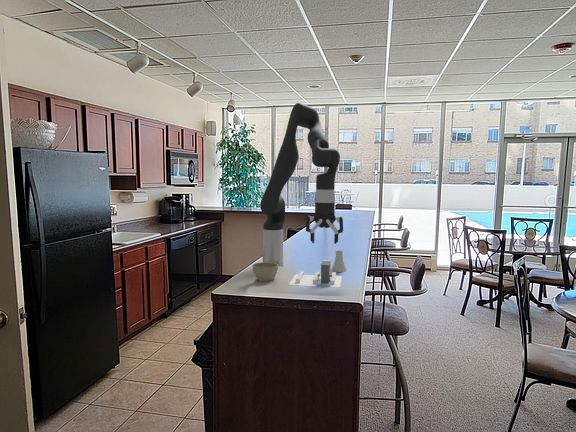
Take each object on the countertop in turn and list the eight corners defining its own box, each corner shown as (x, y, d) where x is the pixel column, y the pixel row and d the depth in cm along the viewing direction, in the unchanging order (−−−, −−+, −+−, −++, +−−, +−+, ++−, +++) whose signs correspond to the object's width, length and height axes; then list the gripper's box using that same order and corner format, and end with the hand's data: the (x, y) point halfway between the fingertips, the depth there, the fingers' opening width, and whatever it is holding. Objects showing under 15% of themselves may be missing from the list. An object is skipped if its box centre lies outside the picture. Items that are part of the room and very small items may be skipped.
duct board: (288, 288, 147) (288, 279, 146) (295, 277, 163) (295, 269, 162) (340, 291, 144) (340, 281, 143) (341, 279, 159) (341, 271, 159)
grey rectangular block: (320, 283, 149) (321, 264, 148) (322, 277, 158) (323, 259, 157) (328, 283, 148) (329, 265, 148) (330, 277, 157) (330, 260, 157)
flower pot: (268, 287, 149) (268, 268, 148) (247, 283, 154) (247, 265, 153) (282, 281, 157) (282, 263, 156) (262, 278, 162) (262, 261, 162)
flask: (336, 276, 165) (337, 253, 164) (327, 272, 171) (327, 250, 170) (350, 274, 168) (351, 251, 167) (340, 271, 174) (341, 248, 173)
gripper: (344, 201, 153) (343, 242, 155) (307, 200, 155) (307, 240, 157) (343, 202, 146) (342, 245, 147) (305, 201, 148) (304, 244, 150)
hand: (324, 243), depth 152 cm, fingers open, 8 cm apart
